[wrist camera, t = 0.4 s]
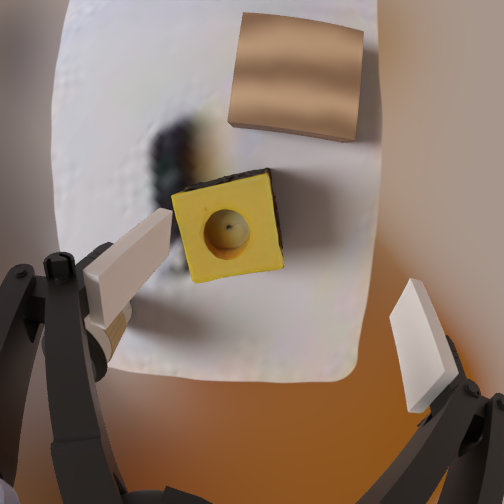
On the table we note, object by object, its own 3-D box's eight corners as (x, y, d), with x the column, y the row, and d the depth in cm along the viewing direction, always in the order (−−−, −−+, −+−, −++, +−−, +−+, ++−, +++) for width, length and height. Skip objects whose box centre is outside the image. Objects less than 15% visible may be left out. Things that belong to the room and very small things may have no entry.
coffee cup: (80, 284, 44) (26, 329, 30) (127, 271, 43) (75, 320, 29) (105, 336, 47) (62, 390, 32) (152, 328, 46) (114, 389, 31)
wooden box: (246, 31, 32) (243, 12, 27) (351, 46, 32) (363, 31, 27) (233, 127, 37) (227, 121, 31) (342, 142, 36) (354, 140, 31)
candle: (269, 166, 38) (270, 169, 28) (283, 242, 41) (288, 269, 31) (192, 182, 39) (168, 191, 29) (209, 256, 42) (192, 285, 32)
